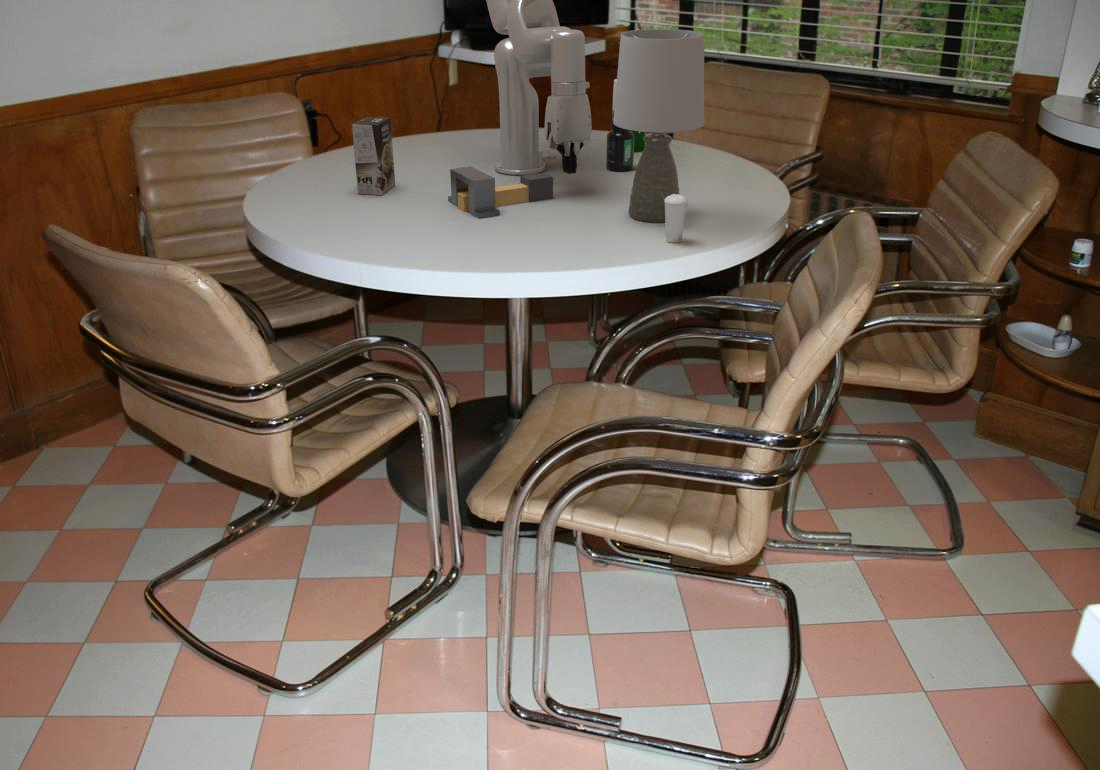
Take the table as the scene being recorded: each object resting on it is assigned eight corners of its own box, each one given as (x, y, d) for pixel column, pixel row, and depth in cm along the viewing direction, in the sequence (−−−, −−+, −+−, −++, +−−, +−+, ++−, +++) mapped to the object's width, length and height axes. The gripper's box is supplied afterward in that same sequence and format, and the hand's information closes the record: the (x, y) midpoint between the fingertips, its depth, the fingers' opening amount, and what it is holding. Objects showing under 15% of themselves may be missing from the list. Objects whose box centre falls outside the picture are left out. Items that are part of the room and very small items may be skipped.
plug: (543, 193, 228) (543, 172, 226) (553, 198, 225) (553, 176, 222) (456, 207, 218) (455, 185, 216) (465, 212, 215) (464, 189, 213)
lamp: (715, 215, 212) (728, 33, 196) (659, 234, 200) (668, 42, 184) (649, 198, 224) (656, 26, 208) (593, 215, 212) (595, 34, 196)
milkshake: (656, 237, 198) (658, 188, 194) (682, 236, 199) (685, 187, 194) (660, 244, 194) (662, 194, 190) (687, 243, 195) (690, 193, 190)
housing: (468, 197, 225) (466, 164, 222) (500, 215, 213) (499, 180, 209) (448, 200, 223) (446, 167, 220) (479, 218, 211) (477, 183, 207)
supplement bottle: (634, 172, 246) (635, 123, 240) (606, 172, 246) (607, 123, 241) (632, 165, 252) (634, 117, 247) (605, 165, 252) (606, 117, 247)
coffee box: (383, 195, 227) (377, 124, 220) (356, 194, 228) (350, 123, 221) (396, 185, 235) (391, 116, 228) (371, 184, 236) (365, 115, 229)
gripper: (588, 84, 224) (588, 165, 232) (530, 90, 218) (532, 173, 225) (606, 88, 218) (606, 171, 226) (547, 94, 212) (549, 179, 219)
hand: (569, 172), depth 225 cm, fingers closed
